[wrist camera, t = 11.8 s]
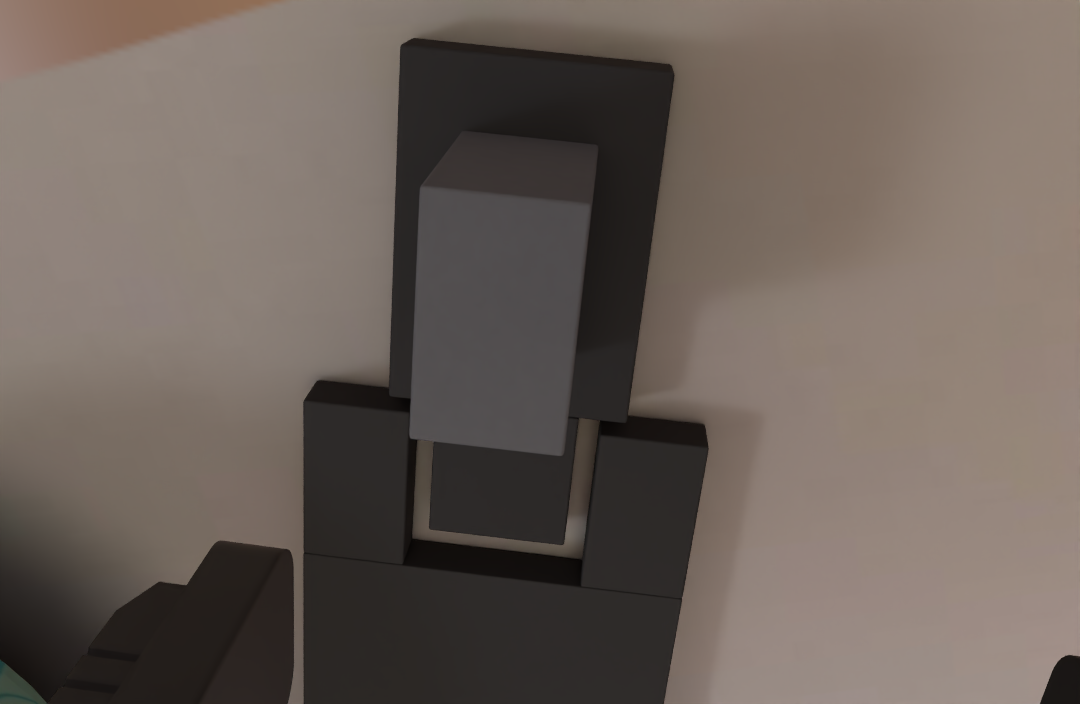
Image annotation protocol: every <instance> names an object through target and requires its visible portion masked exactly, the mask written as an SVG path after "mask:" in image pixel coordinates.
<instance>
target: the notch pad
mask: <svg viewBox="0 0 1080 704" xmlns="http://www.w3.org/2000/svg"><path fill="white" fill-rule="evenodd" d="M410 404H411V399H410V398H401V397H392V396H390V395H389V389H387V388H379V387H370V386H361V385H353V384H344V383H335V382H327V381H317V382H316V383H315V385H314V386H313V388H312V389H311V391H310V392H309V394H308V395H307V397H306V398H305V400H304V402H303V417H304V704H664V698H665V693H666V687H667V681H668V676H669V670H670V664H671V659H672V653H673V648H674V642H675V636H676V631H677V625H678V619H679V614H680V608H681V602H682V596H683V591H684V585H685V579H686V574H687V568H688V562H689V557H690V551H691V545H692V540H693V534H694V529H695V523H696V517H697V512H698V506H699V500H700V495H701V489H702V483H703V478H704V472H705V466H706V461H707V455H708V449H709V448H708V442H707V435H706V429H705V426H704V425H699V424H691V423H682V422H673V421H665V420H656V419H647V418H639V417H630V416H628V417H627V421H626V423H620V422H611V421H602V420H600V423H599V431H598V439H597V447H596V455H595V463H594V470H593V478H592V486H591V494H590V502H589V510H588V517H587V525H586V533H585V541H584V549H583V557H582V560H576V559H567V558H559V557H551V556H542V555H534V554H526V553H518V552H509V551H501V550H493V549H484V548H476V547H468V546H459V545H451V544H443V543H435V542H426V541H418V540H412V526H413V506H414V485H415V464H416V443H417V439H411V438H410V436H409V428H410Z"/></svg>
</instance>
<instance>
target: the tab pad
mask: <svg viewBox="0 0 1080 704" xmlns="http://www.w3.org/2000/svg"><path fill="white" fill-rule="evenodd" d="M673 82H674V72H673V68H672V66H671V65H670V64H662V63H652V62H642V61H633V60H623V59H613V58H603V57H593V56H583V55H574V54H564V53H554V52H544V51H534V50H525V49H515V48H505V47H495V46H485V45H475V44H466V43H456V42H446V41H436V40H426V39H416V38H413V39H411V40H409V41H407V42H406V43H404V44H402V45H401V47H400V75H399V105H398V135H397V165H396V195H395V225H394V255H393V285H392V315H391V345H390V375H389V395H390V396H392V397H401V398H410V399H411V404H410V428H409V436H410V438H411V439H417V440H425V441H434V446H433V465H432V483H431V502H430V520H429V528H430V529H431V530H440V531H448V532H456V533H465V534H473V535H482V536H490V537H498V538H507V539H515V540H524V541H532V542H541V543H549V544H557V545H563V544H564V540H565V532H566V523H567V514H568V506H569V497H570V489H571V480H572V471H573V463H574V454H575V446H576V437H577V428H578V420H579V418H585V419H593V420H602V421H611V422H620V423H626V421H627V417H628V410H629V402H630V395H631V388H632V381H633V373H634V366H635V359H636V351H637V344H638V337H639V330H640V322H641V315H642V308H643V301H644V293H645V286H646V279H647V271H648V264H649V257H650V250H651V242H652V235H653V228H654V221H655V213H656V206H657V199H658V191H659V184H660V177H661V170H662V162H663V155H664V148H665V141H666V133H667V126H668V119H669V111H670V104H671V97H672V90H673Z"/></svg>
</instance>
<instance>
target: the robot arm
mask: <svg viewBox="0 0 1080 704" xmlns="http://www.w3.org/2000/svg"><path fill="white" fill-rule="evenodd" d="M293 668H294V570H293V558H292V554H291V552H290V551H289V550H288V549H281V548H274V547H266V546H259V545H251V544H243V543H236V542H228V541H218V542H216V543H215V544H214V545H213V546H212V548H211V549H210V551H209V552H208V554H207V555H206V557H205V558H204V560H203V561H202V563H201V564H200V566H199V567H198V569H197V570H196V572H195V573H194V575H193V576H192V578H191V579H190V581H189V582H188V584H187V585H178V584H171V583H163V582H158V583H156V584H155V585H154V586H152V587H151V588H149V589H148V590H146V591H145V592H143V593H142V594H140V595H139V596H137V597H136V598H134V599H133V600H131V601H130V602H128V603H127V604H125V605H124V606H122V607H121V608H119V609H118V610H116V612H115V613H114V614H113V616H112V617H111V618H110V620H109V621H108V622H107V624H106V625H105V626H104V628H103V629H102V630H101V632H100V633H99V635H98V636H97V637H96V639H95V640H94V641H93V643H92V644H91V645H90V647H89V651H88V654H87V656H86V655H83V656H82V658H81V659H80V660H79V662H78V663H77V664H76V666H75V667H74V668H73V670H72V671H71V673H70V674H69V675H68V677H67V678H66V683H65V686H64V687H59V689H58V690H57V691H56V693H55V694H54V696H53V697H52V698H51V700H50V701H49V702H48V704H288V700H289V696H290V691H291V685H292V678H293ZM1040 704H1080V656H1073V655H1068V656H1065V657H1063V658H1061V659H1060V660H1059V661H1058V662H1057V664H1056V665H1055V667H1054V669H1053V671H1052V674H1051V676H1050V679H1049V681H1048V684H1047V687H1046V689H1045V692H1044V695H1043V697H1042V700H1041V702H1040Z"/></svg>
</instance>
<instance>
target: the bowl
mask: <svg viewBox="0 0 1080 704" xmlns="http://www.w3.org/2000/svg"><path fill="white" fill-rule="evenodd" d="M0 704H47V703H46V702H45V700H44V699H43V698H42V697H41V696H40V695H39V694H38V693H37V692H36V690H35V689H34V688H33V687H32V686H31V685H30V684H28V683H27V682H26V681H25V680H24V679H23V678H22V677H20V676H19V675H18V674H17V673H16V672H15V671H13V670H12V669H11V668H10V667H9V666H8V665H7V664H5V663H4V662H2V661H1V660H0Z"/></svg>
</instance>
